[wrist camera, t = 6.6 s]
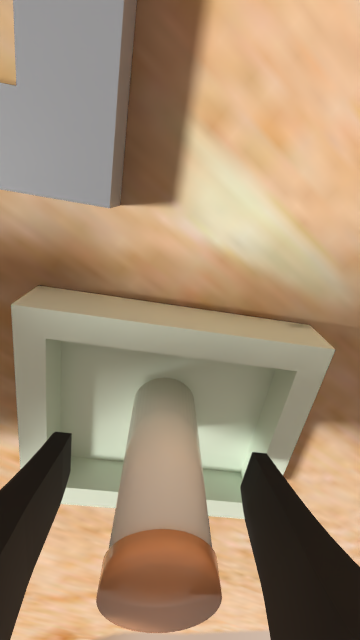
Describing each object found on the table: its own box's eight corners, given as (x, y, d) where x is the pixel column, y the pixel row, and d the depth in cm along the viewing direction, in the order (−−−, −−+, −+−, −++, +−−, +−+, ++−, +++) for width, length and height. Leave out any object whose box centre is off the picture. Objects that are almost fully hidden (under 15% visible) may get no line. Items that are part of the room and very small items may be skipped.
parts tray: (41, 460, 17) (22, 500, 15) (38, 285, 13) (10, 304, 11) (252, 480, 18) (264, 520, 16) (309, 324, 14) (335, 349, 12)
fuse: (132, 427, 15) (99, 634, 8) (131, 374, 14) (92, 564, 7) (194, 428, 16) (214, 631, 8) (199, 377, 14) (229, 564, 7)
